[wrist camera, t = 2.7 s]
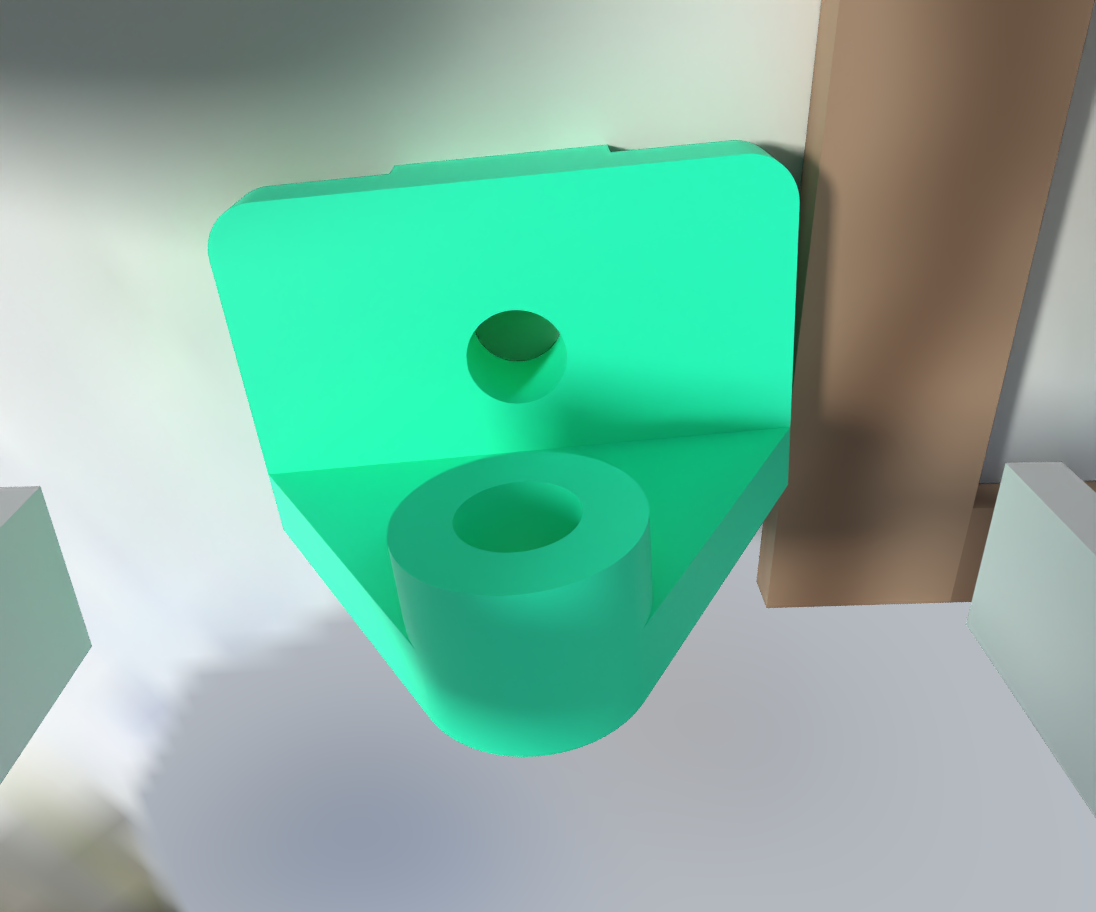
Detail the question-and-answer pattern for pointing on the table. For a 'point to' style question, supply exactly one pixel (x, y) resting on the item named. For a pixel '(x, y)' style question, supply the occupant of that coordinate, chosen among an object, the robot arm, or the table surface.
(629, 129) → the table surface
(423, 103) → the table surface
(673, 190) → the camera mount
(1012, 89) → the open wooden square frame
